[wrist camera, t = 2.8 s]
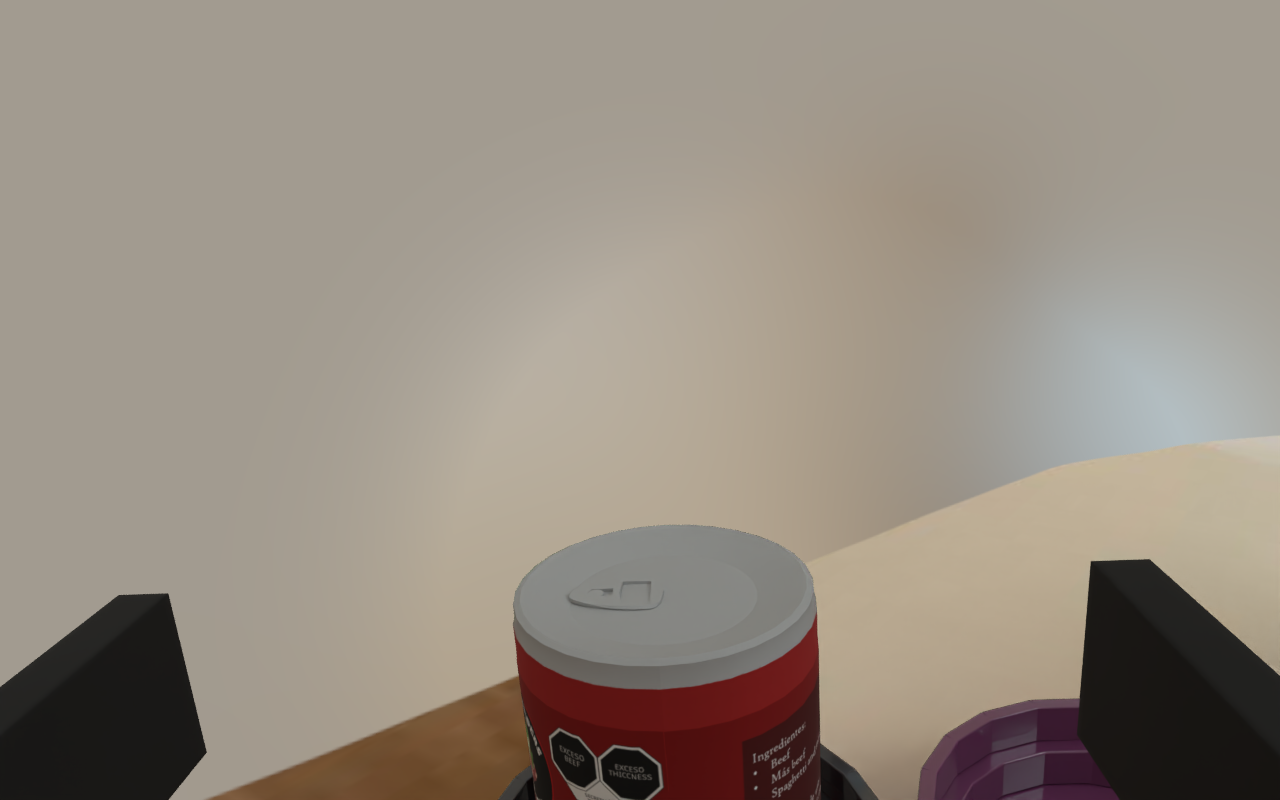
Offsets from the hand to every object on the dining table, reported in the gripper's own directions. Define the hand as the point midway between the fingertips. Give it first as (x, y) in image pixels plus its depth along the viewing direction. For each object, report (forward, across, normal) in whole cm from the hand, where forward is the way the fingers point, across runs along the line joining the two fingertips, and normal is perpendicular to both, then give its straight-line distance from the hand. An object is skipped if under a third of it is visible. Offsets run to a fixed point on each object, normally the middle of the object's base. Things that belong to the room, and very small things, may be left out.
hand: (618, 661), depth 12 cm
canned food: (+10, 0, -15) cm, 18 cm away
